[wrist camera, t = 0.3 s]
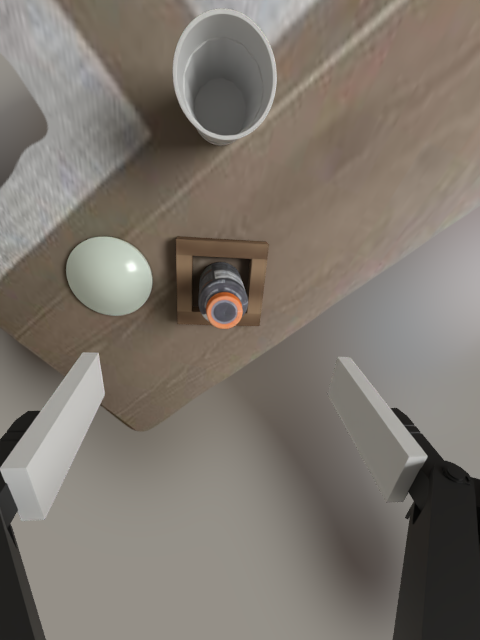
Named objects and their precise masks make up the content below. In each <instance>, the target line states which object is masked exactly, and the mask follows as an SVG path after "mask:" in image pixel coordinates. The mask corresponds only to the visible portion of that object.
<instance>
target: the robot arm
mask: <svg viewBox="0 0 480 640" xmlns="http://www.w3.org/2000/svg"><path fill="white" fill-rule="evenodd" d="M327 394H328V397H329V398H330V400H331V402H332V404H333V406H334V407H335V409H336V411H337V413H338V415H339V417H340V418H341V420H342V422H343V424H344V426H345V428H346V429H347V431H348V433H349V435H350V437H351V439H352V441H353V442H354V444H355V446H356V448H357V450H358V451H359V453H360V455H361V457H362V459H363V461H364V463H365V464H366V466H367V468H368V470H369V472H370V474H371V475H372V477H373V479H374V481H375V482H376V485H377V486H378V488H379V490H380V492H381V494H382V496H383V497H384V499H385V501H386V503H388V502H403V501H404V500H405V498H406V496H407V494H408V492H409V494H410V495H411V497H412V499H413V500H414V502H413V504H412V506H411V507H410V509H409V511H408V513H407V515H406V517H405V518H406V519H408V518H409V517H410V520H409V527H408V534H407V541H406V548H405V555H404V563H403V570H402V577H401V585H400V591H399V599H398V606H397V613H396V620H395V628H394V635H393V640H480V479H476V478H472V477H470V476H469V474H468V473H467V472H466V471H464V470H463V469H462V468H461V467H459V466H457V465H456V464H454V463H451V462H448V461H444V460H443V459H442V457H441V456H440V455H439V454H438V453H437V451H436V450H435V449H434V448H433V447H432V445H431V444H430V443H429V442H428V441H427V439H426V438H425V437H424V436H423V434H421V433H420V431H419V430H418V428H417V427H416V426H414V424H413V423H412V421H411V420H410V419H409V418H408V417H407V415H405V414H404V413H403V412H401V411H400V410H399V409H397V408H390V407H389V406H388V405H387V404H386V402H385V401H384V400H383V398H382V397H381V396H380V395H379V394H378V392H377V391H376V389H375V388H374V387H373V386H372V384H371V383H370V382H369V381H368V380H367V378H366V377H365V375H364V374H363V373H362V372H361V370H360V369H359V368H358V367H357V365H356V364H355V363H354V361H353V360H352V359H351V358H350V357H337V361H336V365H335V368H334V372H333V375H332V379H331V383H330V386H329V390H328V393H327ZM104 395H105V391H104V385H103V379H102V372H101V366H100V359H99V353H85V352H83V353H82V354H81V356H80V357H79V359H78V360H77V361H76V363H75V364H74V366H73V367H72V368H71V370H70V371H69V372H68V374H67V375H66V377H65V378H64V380H63V381H62V382H61V384H60V385H59V387H58V388H57V389H56V391H55V392H54V393H53V395H52V396H51V398H50V399H49V400H48V402H47V403H46V405H45V406H44V407H43V409H42V410H41V411H28V412H26V413H25V414H23V415H22V416H21V417H19V418H18V419H17V420H16V421H15V422H14V423H13V424H12V425H11V427H10V428H9V429H8V430H7V433H5V434H4V436H3V437H2V438H1V439H0V640H46V639H45V636H44V632H43V629H42V625H41V622H40V619H39V615H38V612H37V609H36V605H35V602H34V599H33V595H32V592H31V589H30V585H29V582H28V579H27V576H26V572H25V569H24V565H23V562H22V559H21V555H20V552H19V549H18V545H17V542H16V539H15V535H14V532H13V529H12V526H11V524H10V523H11V521H12V520H13V518H14V516H15V514H16V512H17V511H18V513H19V516H20V519H21V521H27V520H45V518H46V516H47V514H48V512H49V510H50V508H51V505H52V503H53V501H54V499H55V497H56V495H57V493H58V491H59V489H60V487H61V485H62V483H63V481H64V478H65V476H66V474H67V472H68V470H69V468H70V466H71V464H72V462H73V460H74V458H75V455H76V453H77V451H78V449H79V447H80V445H81V443H82V441H83V438H84V437H85V435H86V433H87V430H88V428H89V426H90V424H91V422H92V420H93V418H94V416H95V414H96V412H97V409H98V407H99V405H100V403H101V401H102V399H103V397H104Z"/></svg>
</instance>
